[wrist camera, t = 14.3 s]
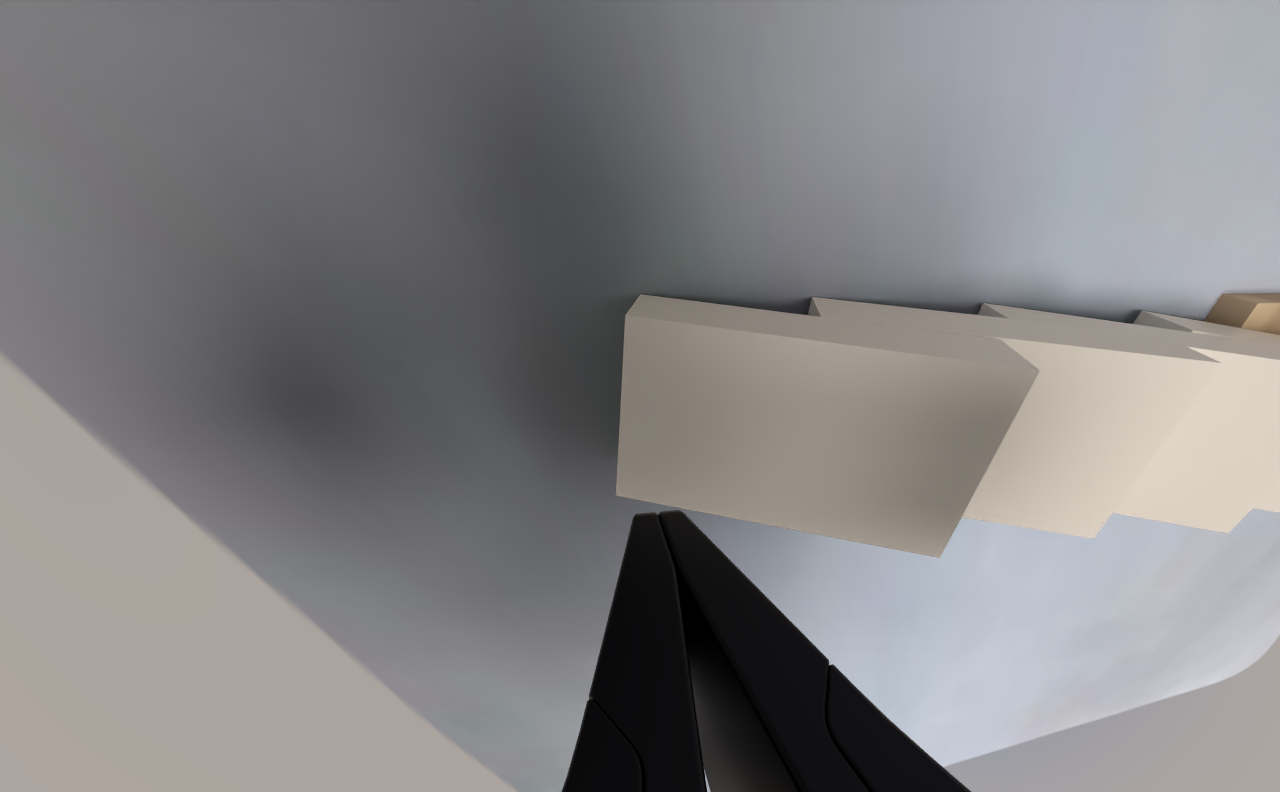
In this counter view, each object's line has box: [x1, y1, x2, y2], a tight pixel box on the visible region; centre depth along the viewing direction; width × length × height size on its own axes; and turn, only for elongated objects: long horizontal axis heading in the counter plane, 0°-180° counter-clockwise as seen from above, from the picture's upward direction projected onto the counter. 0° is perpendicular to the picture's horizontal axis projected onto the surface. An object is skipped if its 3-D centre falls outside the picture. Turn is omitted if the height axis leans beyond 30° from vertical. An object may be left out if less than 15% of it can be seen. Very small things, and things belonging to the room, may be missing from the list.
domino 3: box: [978, 303, 1280, 533], centre depth 13 cm, size 5×2×8 cm
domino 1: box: [616, 294, 1040, 558], centre depth 11 cm, size 5×2×8 cm
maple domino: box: [1204, 294, 1280, 335], centre depth 16 cm, size 5×2×8 cm
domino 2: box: [808, 297, 1222, 539], centre depth 12 cm, size 5×2×8 cm
